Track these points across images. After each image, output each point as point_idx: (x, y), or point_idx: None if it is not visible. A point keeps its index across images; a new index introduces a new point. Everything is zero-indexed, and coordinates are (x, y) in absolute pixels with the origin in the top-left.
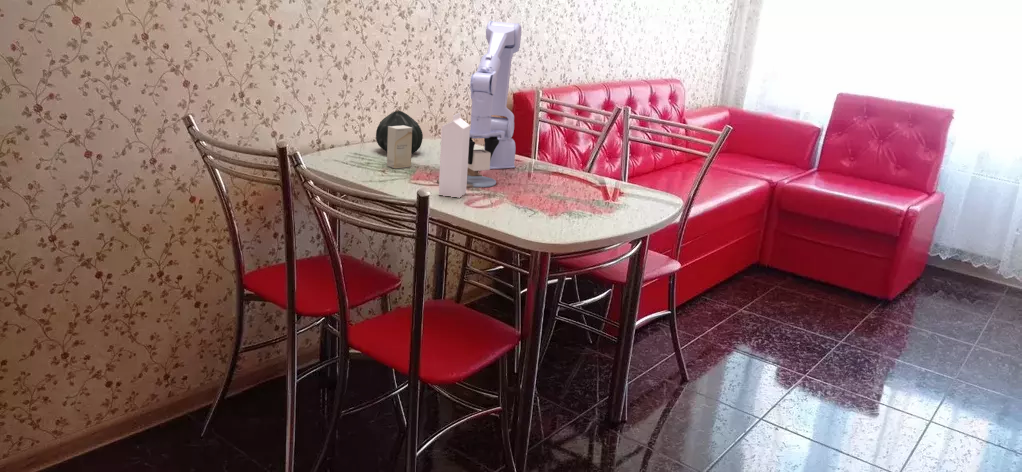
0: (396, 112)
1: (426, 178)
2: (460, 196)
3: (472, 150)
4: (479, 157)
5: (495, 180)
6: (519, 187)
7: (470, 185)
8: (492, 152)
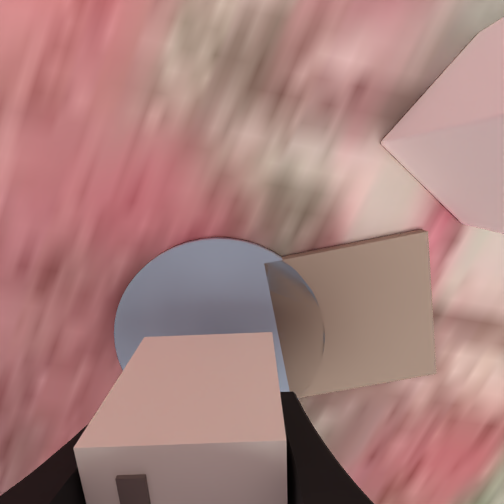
0: None
1: (440, 436)
2: (471, 42)
3: (313, 493)
4: (225, 405)
5: (114, 325)
6: (6, 203)
7: (301, 256)
8: (41, 472)
